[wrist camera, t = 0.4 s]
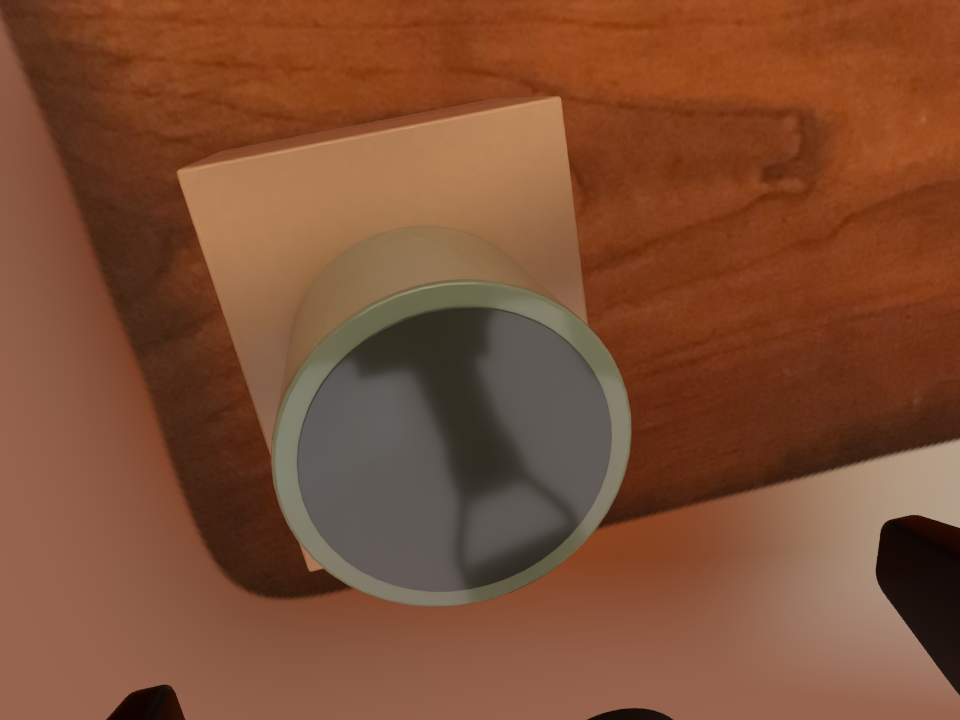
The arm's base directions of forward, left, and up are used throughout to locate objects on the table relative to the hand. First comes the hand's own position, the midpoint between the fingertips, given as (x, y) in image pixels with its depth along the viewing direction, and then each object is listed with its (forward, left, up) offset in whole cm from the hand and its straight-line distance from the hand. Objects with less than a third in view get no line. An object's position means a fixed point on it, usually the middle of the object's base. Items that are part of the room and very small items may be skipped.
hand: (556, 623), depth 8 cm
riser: (+1, 0, -14) cm, 14 cm away
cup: (+1, 0, -8) cm, 8 cm away
